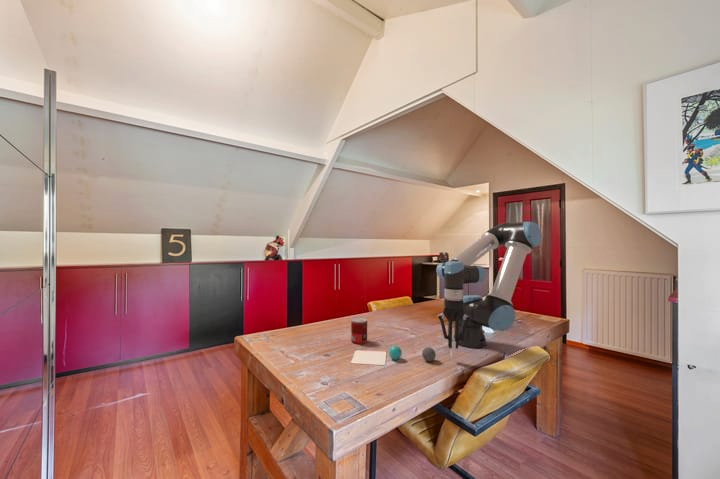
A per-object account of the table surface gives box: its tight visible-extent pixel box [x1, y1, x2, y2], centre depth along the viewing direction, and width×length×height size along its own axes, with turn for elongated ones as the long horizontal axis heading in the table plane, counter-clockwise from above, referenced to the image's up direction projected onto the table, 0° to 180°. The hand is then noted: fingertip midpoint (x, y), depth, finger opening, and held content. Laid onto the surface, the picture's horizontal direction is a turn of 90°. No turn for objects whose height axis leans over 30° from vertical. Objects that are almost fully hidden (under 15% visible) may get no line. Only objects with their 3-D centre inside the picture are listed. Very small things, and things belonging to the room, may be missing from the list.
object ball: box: [388, 345, 403, 361], centre depth 126 cm, size 6×6×6 cm
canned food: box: [350, 317, 368, 345], centre depth 147 cm, size 8×8×11 cm
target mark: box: [350, 350, 387, 366], centre depth 127 cm, size 14×14×1 cm
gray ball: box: [421, 347, 437, 362], centre depth 124 cm, size 6×6×6 cm
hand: (453, 355), depth 122 cm, fingers closed
